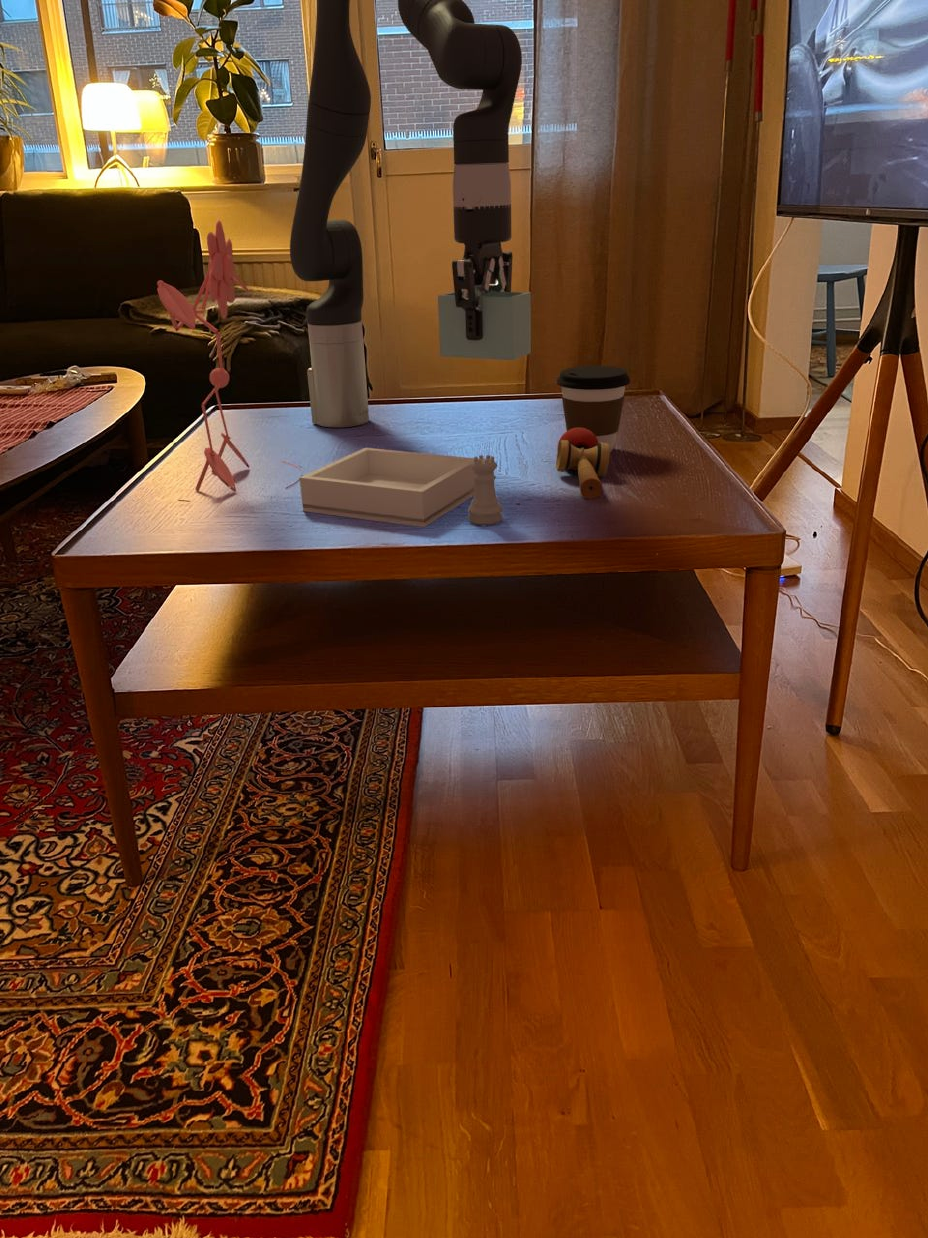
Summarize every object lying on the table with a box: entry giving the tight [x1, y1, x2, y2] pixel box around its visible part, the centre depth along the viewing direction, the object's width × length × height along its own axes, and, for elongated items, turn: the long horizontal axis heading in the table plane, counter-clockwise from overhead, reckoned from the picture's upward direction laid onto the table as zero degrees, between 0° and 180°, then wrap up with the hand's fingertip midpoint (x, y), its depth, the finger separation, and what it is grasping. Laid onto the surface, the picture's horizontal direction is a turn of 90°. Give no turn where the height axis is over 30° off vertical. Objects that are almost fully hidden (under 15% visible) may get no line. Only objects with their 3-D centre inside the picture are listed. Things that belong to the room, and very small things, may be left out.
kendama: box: [555, 427, 611, 499], centre depth 135 cm, size 8×6×18 cm
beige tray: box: [299, 447, 475, 528], centre depth 129 cm, size 18×16×4 cm
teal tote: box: [437, 290, 532, 361], centre depth 133 cm, size 11×6×8 cm, turn 63°
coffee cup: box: [556, 365, 631, 453], centre depth 148 cm, size 11×11×12 cm
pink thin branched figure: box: [156, 220, 303, 503], centre depth 134 cm, size 15×26×35 cm, turn 179°
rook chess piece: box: [467, 454, 504, 527], centre depth 120 cm, size 4×4×8 cm
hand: (484, 335), depth 134 cm, fingers closed on teal tote, 6 cm apart
